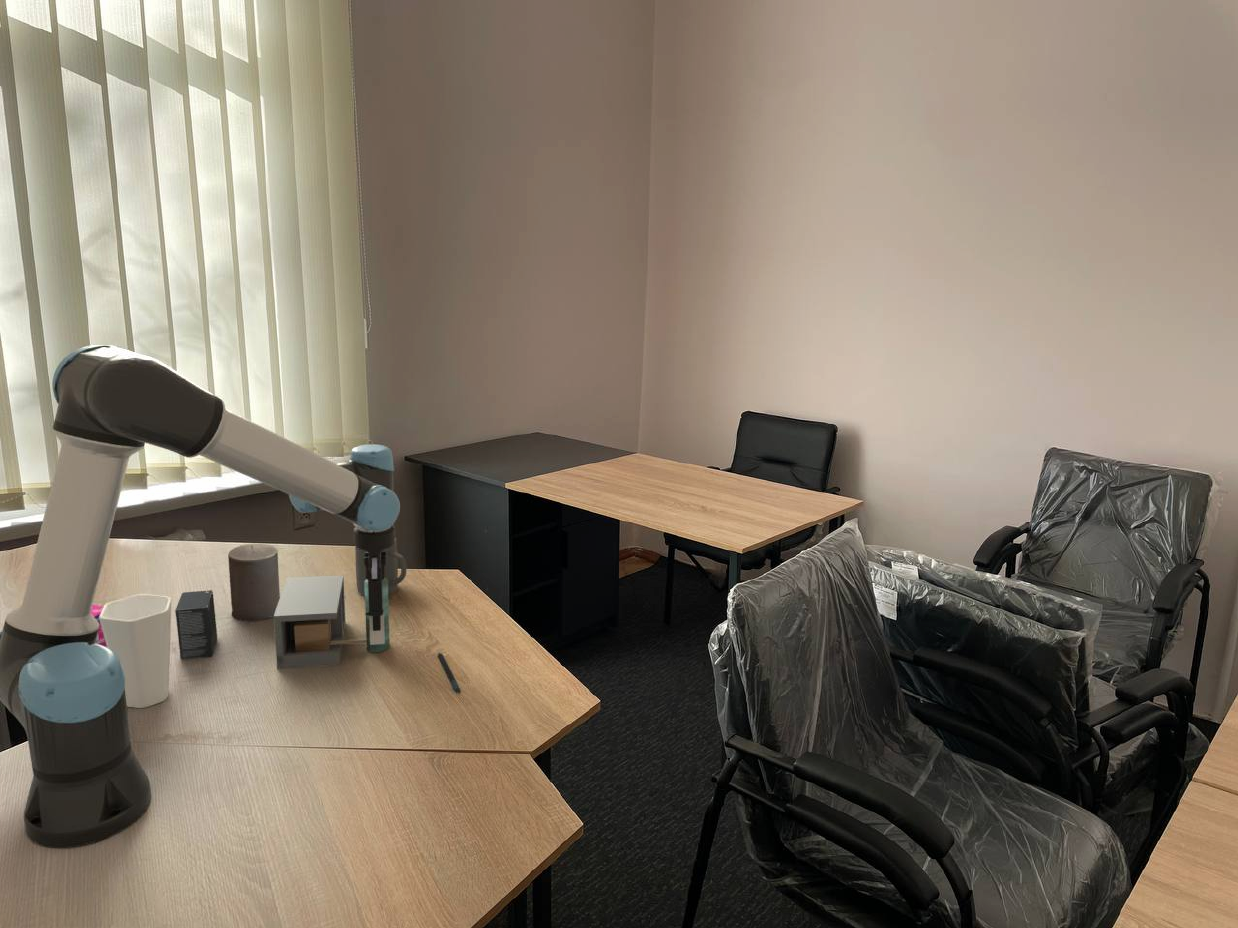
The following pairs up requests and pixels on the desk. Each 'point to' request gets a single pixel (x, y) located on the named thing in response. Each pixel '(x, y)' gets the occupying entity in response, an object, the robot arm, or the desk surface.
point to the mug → (390, 569)
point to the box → (196, 624)
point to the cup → (140, 645)
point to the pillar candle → (254, 581)
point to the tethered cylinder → (319, 631)
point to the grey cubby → (309, 618)
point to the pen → (449, 673)
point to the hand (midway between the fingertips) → (377, 637)
